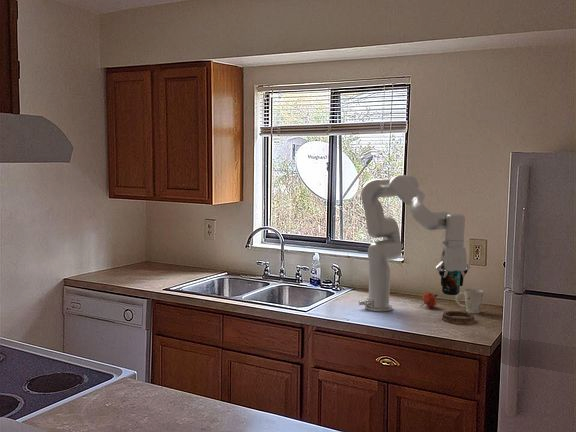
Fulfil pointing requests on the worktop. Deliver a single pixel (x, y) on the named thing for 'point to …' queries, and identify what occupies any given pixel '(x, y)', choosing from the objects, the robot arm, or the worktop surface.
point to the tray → (458, 317)
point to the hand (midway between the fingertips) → (451, 285)
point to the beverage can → (452, 283)
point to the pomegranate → (429, 299)
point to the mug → (471, 300)
